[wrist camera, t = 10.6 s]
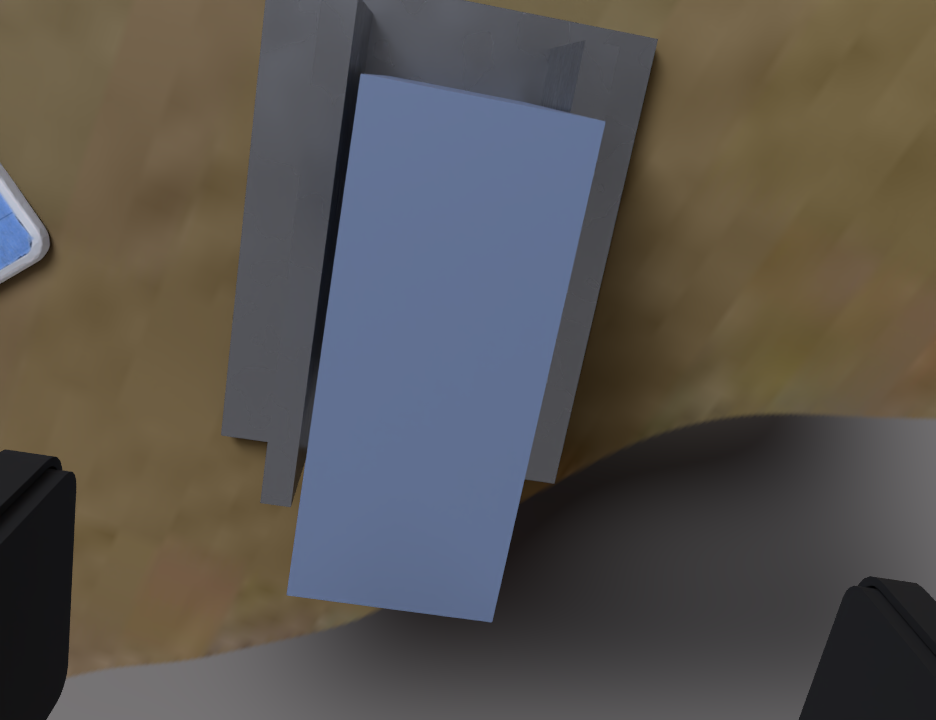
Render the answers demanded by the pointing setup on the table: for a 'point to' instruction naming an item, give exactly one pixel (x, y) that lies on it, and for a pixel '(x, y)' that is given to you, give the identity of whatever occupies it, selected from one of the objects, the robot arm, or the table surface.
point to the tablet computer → (18, 230)
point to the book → (437, 343)
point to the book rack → (324, 173)
